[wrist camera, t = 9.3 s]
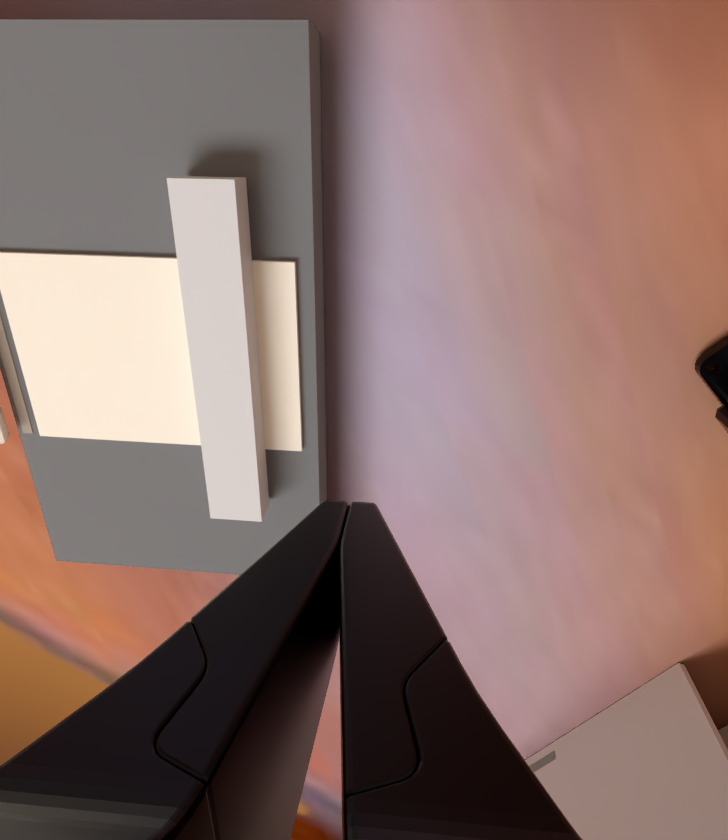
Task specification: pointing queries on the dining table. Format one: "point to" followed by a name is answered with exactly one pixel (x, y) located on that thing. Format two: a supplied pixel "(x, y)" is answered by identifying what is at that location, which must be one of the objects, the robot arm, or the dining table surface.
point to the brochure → (643, 767)
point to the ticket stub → (3, 428)
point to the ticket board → (164, 283)
